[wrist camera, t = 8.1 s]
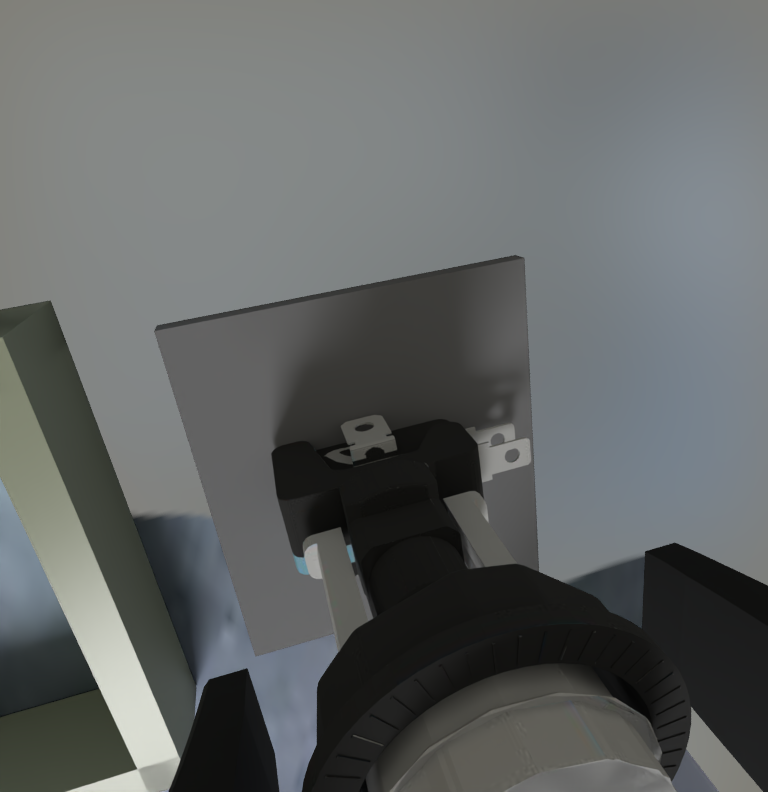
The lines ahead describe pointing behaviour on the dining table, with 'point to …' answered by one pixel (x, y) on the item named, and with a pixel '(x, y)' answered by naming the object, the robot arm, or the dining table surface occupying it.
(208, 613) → the dining table surface
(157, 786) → the equipment case
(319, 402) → the mat
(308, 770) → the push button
